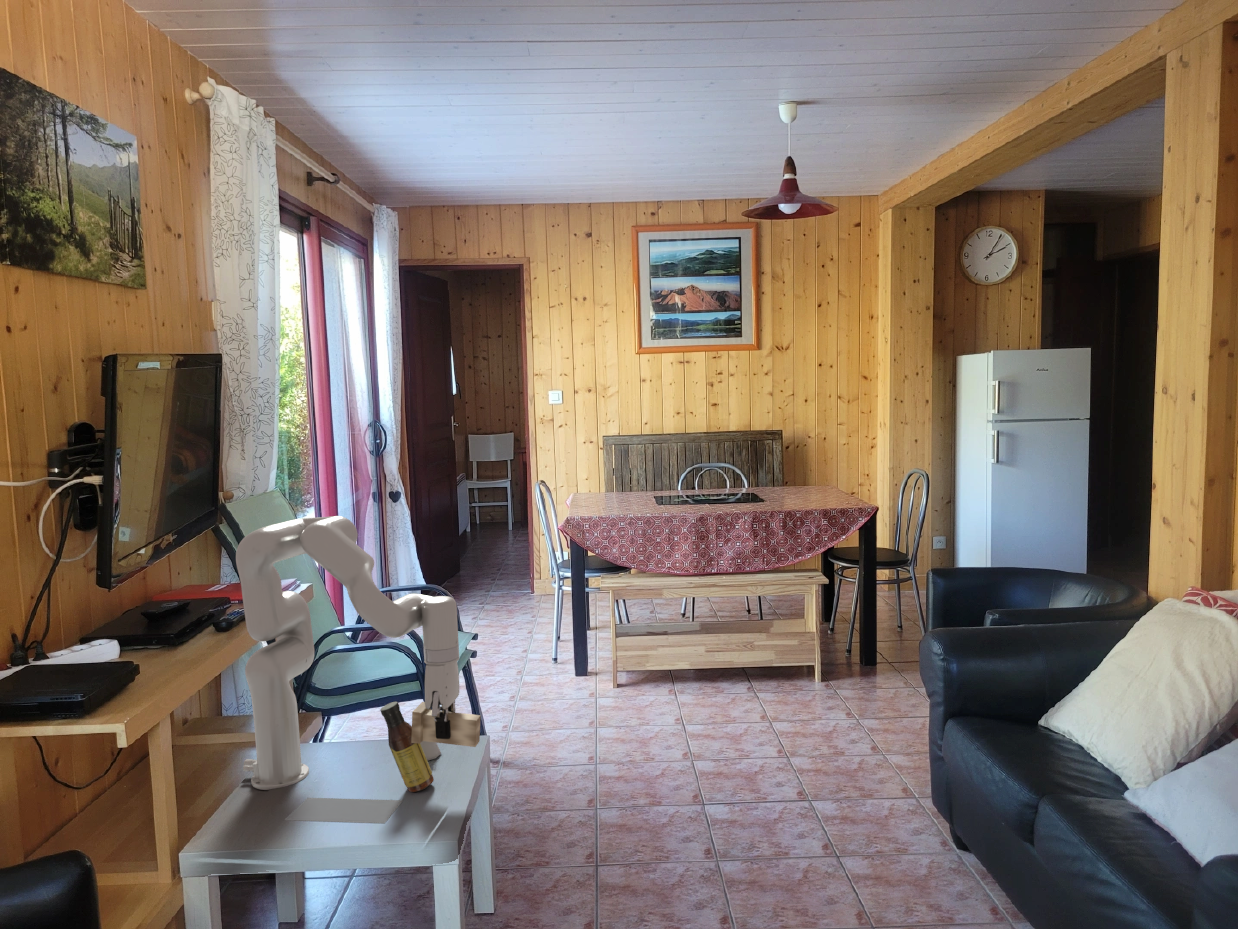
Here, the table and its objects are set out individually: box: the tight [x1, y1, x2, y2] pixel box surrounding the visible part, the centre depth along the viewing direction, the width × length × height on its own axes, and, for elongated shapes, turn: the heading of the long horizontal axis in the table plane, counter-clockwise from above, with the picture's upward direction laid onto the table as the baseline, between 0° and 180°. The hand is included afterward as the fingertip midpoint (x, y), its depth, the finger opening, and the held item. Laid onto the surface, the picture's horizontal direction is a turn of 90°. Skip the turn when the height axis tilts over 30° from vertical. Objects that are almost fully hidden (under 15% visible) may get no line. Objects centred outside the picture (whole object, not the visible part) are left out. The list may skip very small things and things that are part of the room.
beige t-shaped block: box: [411, 701, 481, 748], centre depth 192 cm, size 14×6×7 cm, turn 82°
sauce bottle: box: [380, 701, 435, 793], centre depth 193 cm, size 7×6×20 cm
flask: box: [420, 741, 442, 761], centre depth 212 cm, size 7×7×10 cm
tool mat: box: [284, 797, 404, 824], centre depth 185 cm, size 22×10×1 cm, turn 82°
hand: (446, 734), depth 192 cm, fingers closed on beige t-shaped block, 2 cm apart
